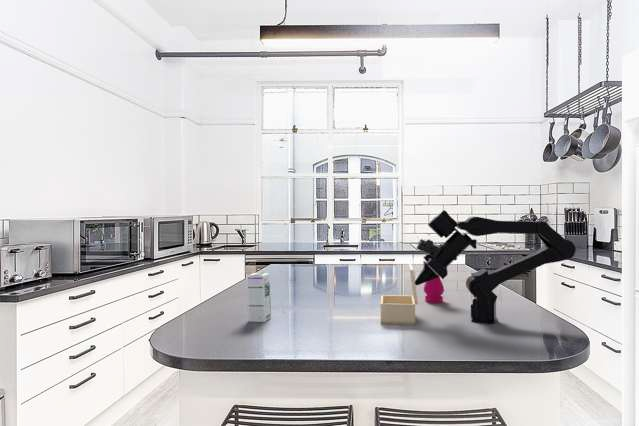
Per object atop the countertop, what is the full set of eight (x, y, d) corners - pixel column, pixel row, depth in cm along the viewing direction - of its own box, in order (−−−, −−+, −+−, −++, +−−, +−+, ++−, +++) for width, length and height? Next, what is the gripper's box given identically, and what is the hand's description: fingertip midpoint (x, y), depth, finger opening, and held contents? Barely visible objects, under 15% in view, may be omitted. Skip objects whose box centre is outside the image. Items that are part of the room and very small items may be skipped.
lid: (412, 295, 150) (415, 295, 150) (415, 304, 135) (418, 304, 135) (408, 264, 150) (411, 263, 150) (410, 270, 136) (413, 269, 135)
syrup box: (265, 322, 142) (264, 275, 142) (247, 321, 143) (246, 274, 143) (271, 318, 147) (270, 272, 147) (253, 317, 148) (252, 272, 148)
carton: (413, 314, 150) (412, 295, 149) (415, 324, 136) (414, 304, 136) (381, 313, 151) (381, 295, 151) (380, 324, 137) (380, 303, 137)
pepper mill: (442, 299, 173) (441, 246, 173) (445, 303, 166) (445, 247, 165) (422, 299, 173) (421, 246, 173) (425, 303, 166) (424, 247, 166)
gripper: (430, 228, 151) (396, 262, 153) (435, 231, 132) (396, 269, 134) (455, 252, 150) (420, 286, 151) (464, 259, 131) (424, 297, 133)
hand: (415, 284), depth 142 cm, fingers closed, pressing on lid
